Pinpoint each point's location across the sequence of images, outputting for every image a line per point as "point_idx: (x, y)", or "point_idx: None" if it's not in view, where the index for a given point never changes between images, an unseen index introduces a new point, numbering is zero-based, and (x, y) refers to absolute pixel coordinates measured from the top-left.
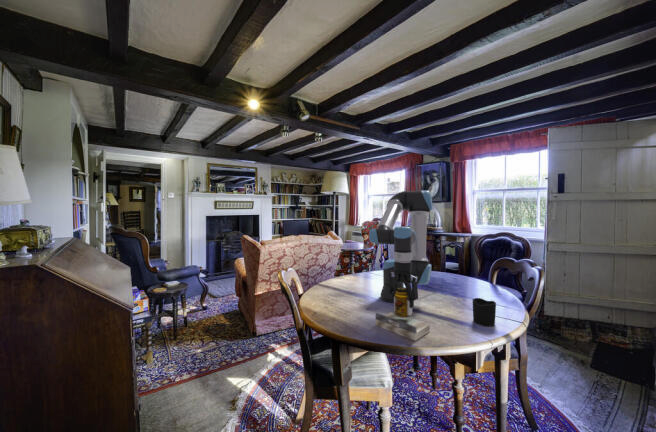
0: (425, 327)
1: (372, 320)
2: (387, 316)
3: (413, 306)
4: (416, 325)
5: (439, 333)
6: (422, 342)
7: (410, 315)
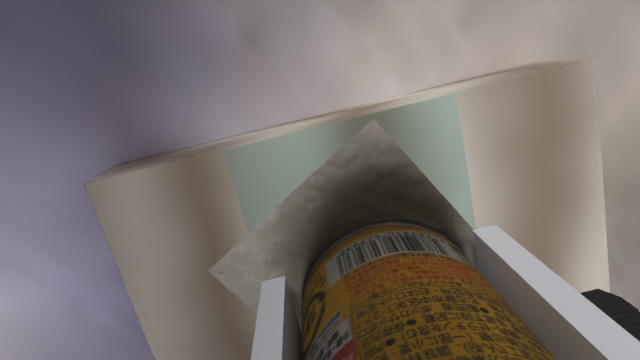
0: (599, 149)
1: (92, 350)
2: (187, 302)
3: (618, 304)
4: (518, 198)
5: (630, 7)
6: (617, 262)
7: (471, 234)
